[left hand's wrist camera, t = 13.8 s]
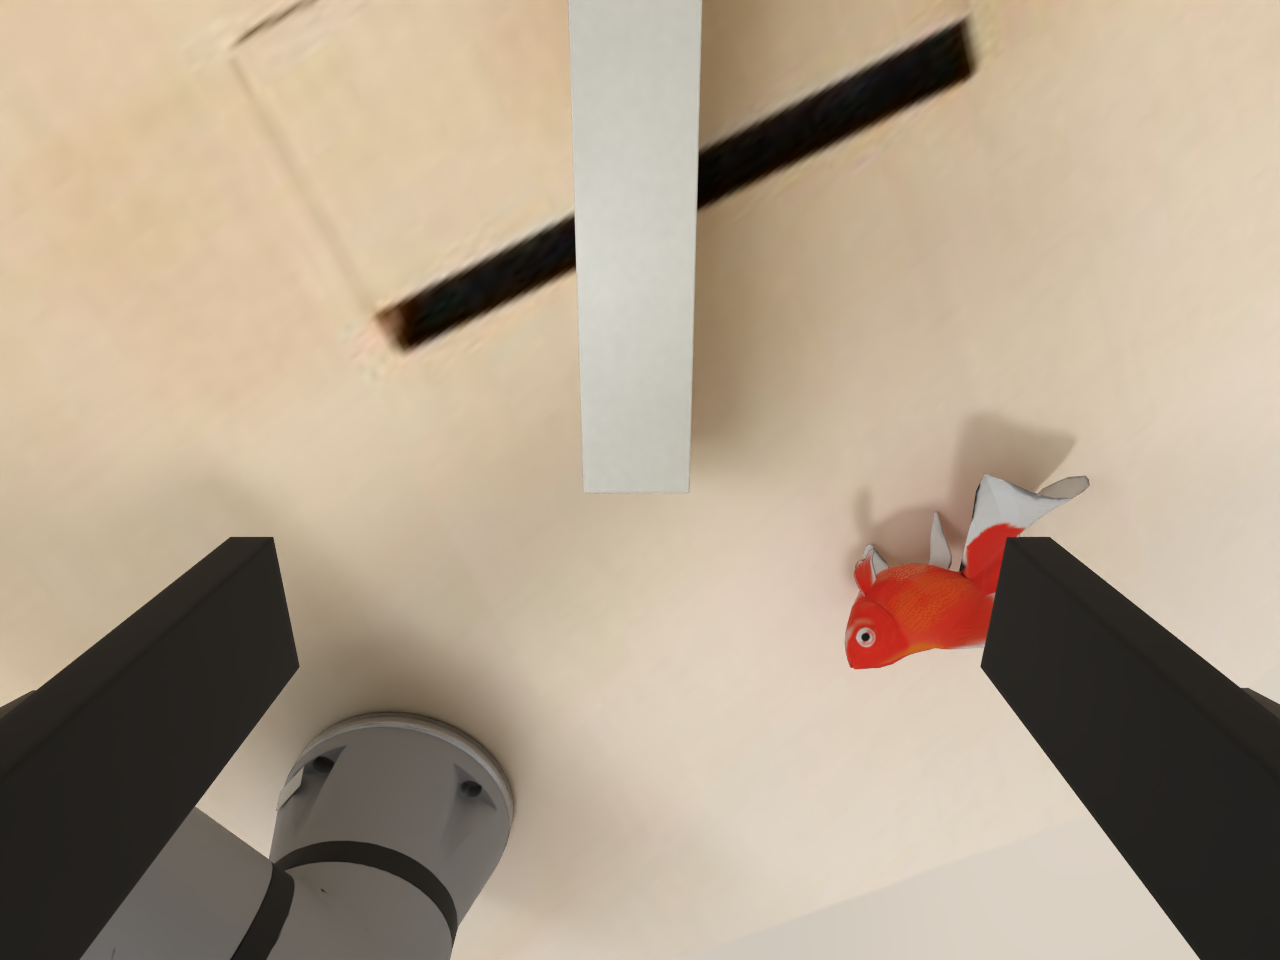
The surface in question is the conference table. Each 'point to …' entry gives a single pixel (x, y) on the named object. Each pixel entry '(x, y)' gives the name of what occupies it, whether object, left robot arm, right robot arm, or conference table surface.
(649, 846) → the conference table surface
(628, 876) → the conference table surface
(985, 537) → the fish
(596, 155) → the plank
